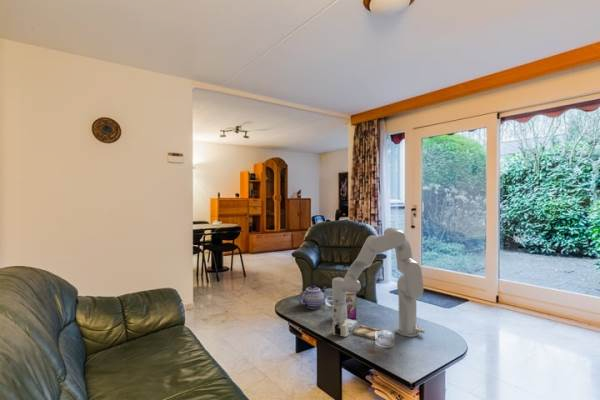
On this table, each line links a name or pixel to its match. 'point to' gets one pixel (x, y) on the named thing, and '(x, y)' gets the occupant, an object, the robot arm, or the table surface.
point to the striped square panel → (351, 324)
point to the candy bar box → (351, 305)
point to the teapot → (312, 297)
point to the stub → (342, 329)
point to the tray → (365, 331)
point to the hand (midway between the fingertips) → (339, 332)
